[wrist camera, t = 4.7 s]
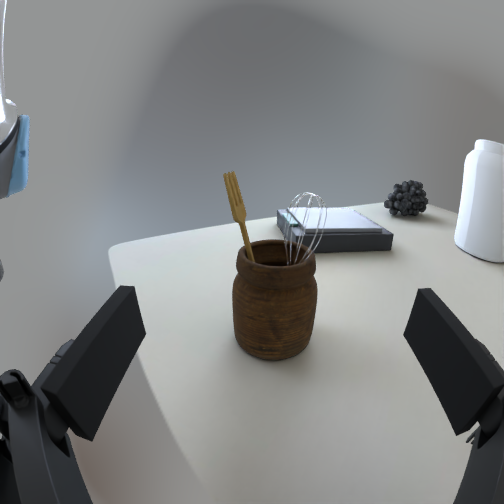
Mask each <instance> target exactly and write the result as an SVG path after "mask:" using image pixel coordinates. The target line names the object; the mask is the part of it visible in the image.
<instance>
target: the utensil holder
mask: <svg viewBox="0 0 504 504" xmlns="http://www.w3.org/2000/svg"><path fill="white" fill-rule="evenodd" d="M231 174H232V175H231ZM223 176H224V181H225V185H226V189H227V193H228V198H229V202H230V206H231V211H232V215H233V218H234V220H235V222H237V223H239V225H240V229H241V233H242V236H243V240H244V244H245V246H243V247H242V248H241V249H240V250H239V252H238V256H237V262H236V268H237V271H238V274H237V275H236V277H235V280H234V283H233V291H232V301H233V322H234V332H235V337H236V340H237V342H238V343H239V345H240V346H241V347H242V348H243V349H244V350H245V351H246V352H248V353H249V354H251V355H253V356H256V357H259V358H262V359H269V360H279V359H285V358H289V357H292V356H294V355H296V354H298V353H299V352H301V351H302V350H303V349H304V348H305V347H306V346H307V344H308V343H309V340H310V338H311V335H312V330H313V325H314V318H315V312H316V304H317V283H316V280H315V278H314V276H313V275H314V273H315V271H316V260H315V254H314V252H313V251H314V250H313V251H312V250H311V247H312V244H313V242H314V239H315V237H316V234H317V231H318V228H319V226H318V225H320V222H319V221H318V225H317V229H316V233H315V237H314V239H313V241H312V243H311V245H310V246H311V247H307V246H305V245H303V244H300V243H299V240H300V236H301V233H300V236H299V240H298V243H297V242H293V241H287V236H286V240H285V228H284V240H261V241H255V242H252V243H250V241H249V237H248V233H247V229H246V226H245V218H246V210H245V207H244V203H243V200H242V196H241V193H240V189H239V186H238V182H237V179H236V175H235V172H234V171H233V172H232V173H230V172H228V176H227V174H226V173H225V174H224V175H223ZM232 178H233V179H232ZM228 179H229V180H228ZM302 194H303V193H302ZM305 194H306V195H309V194H311V195H314V196H315V197H316V196H317V197H319V196H318V195H315V194H312V193H304V195H303V196H306V195H305ZM300 195H301V194H300ZM298 196H299V195H298ZM298 196H297V197H298ZM303 196H302V197H303ZM302 197H301V198H302ZM311 197H312V196H311ZM311 197H310V199H311ZM295 198H296V197H295ZM301 198H300V199H301ZM319 198H320V197H319ZM300 199H299V200H298V201H300ZM320 199H321V198H320ZM312 200H313V197H312ZM317 200H318V198H317ZM293 201H294V199H293ZM293 201H292V202H293ZM322 201H323V200H322V199H321V202H322ZM309 202H310V200H309ZM318 202H319V200H318ZM323 203H324V202H323ZM323 203H322V212H323ZM291 204H292V203H291ZM296 204H297V202H296ZM296 204H295V205H296ZM298 204H299V203H298ZM311 205H312V203H311ZM324 205H325V203H324ZM290 206H291V205H290ZM308 206H309V203H308ZM294 207H295V206H294ZM297 207H298V205H297ZM319 207H320V203H319ZM325 208H326V206H325ZM307 209H308V207H307ZM310 209H311V207H310ZM289 210H290V207H289ZM293 210H294V208H293ZM296 211H297V208H296ZM288 213H289V211H288ZM292 213H293V211H292ZM306 213H307V210H306ZM306 213H305V217H306ZM309 213H310V211H309ZM295 215H296V212H295ZM320 215H321V217H322V213H321V209H320ZM287 217H288V214H287ZM291 217H292V214H291ZM291 217H290V220H291ZM305 217H304V220H305ZM308 217H309V215H308ZM326 217H327V209H326ZM294 219H295V216H294ZM319 220H320V221H321V218H320V216H319ZM286 221H287V218H286ZM307 221H308V218H307ZM325 222H326V218H325ZM293 223H294V220H293ZM289 224H290V221H289ZM303 224H304V221H303ZM306 225H307V222H306ZM285 226H286V222H285ZM324 226H325V223H324ZM288 228H289V225H288ZM302 228H303V225H302ZM292 229H293V224H292ZM305 229H306V226H305ZM323 230H324V227H323ZM301 232H302V229H301ZM304 232H305V230H304ZM322 233H323V231H322ZM287 234H288V229H287ZM303 236H304V233H303ZM321 236H322V234H321ZM291 239H292V231H291ZM302 239H303V237H302ZM320 239H321V237H320ZM320 239H319V241H320ZM319 241H318V243H319ZM301 243H302V240H301ZM318 243H317V245H318ZM317 245H316V247H317ZM316 247H315V248H316ZM315 248H314V249H315Z"/></svg>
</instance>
